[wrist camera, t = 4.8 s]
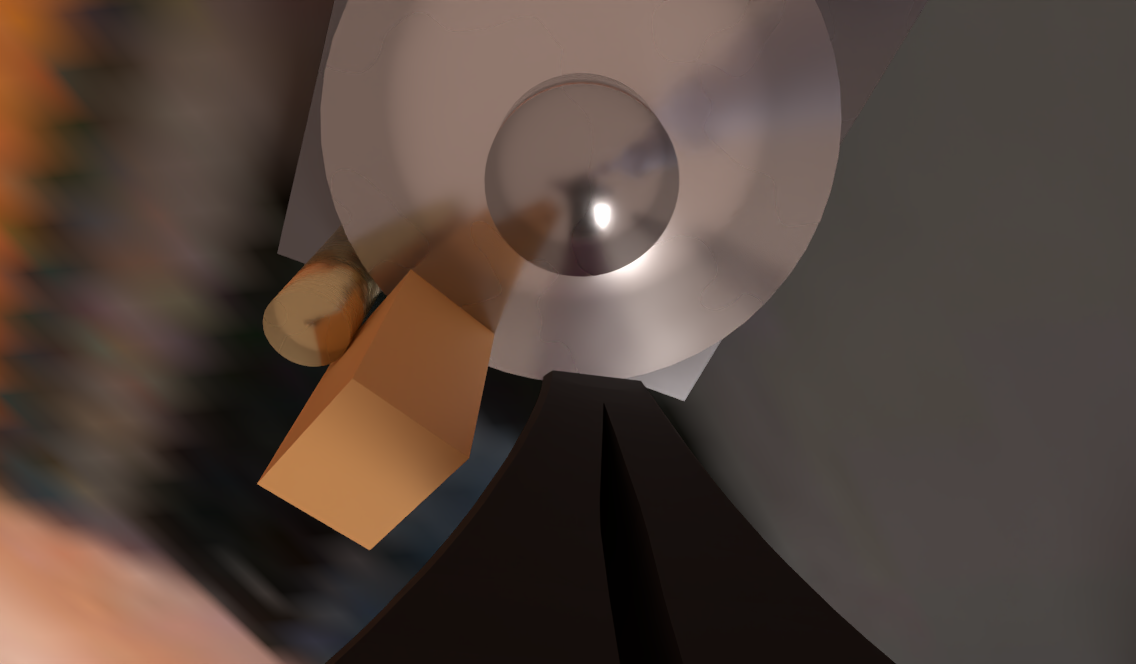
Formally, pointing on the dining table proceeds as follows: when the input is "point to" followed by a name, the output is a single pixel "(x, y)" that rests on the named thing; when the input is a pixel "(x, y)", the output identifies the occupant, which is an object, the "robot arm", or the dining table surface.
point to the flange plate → (547, 211)
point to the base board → (347, 291)
